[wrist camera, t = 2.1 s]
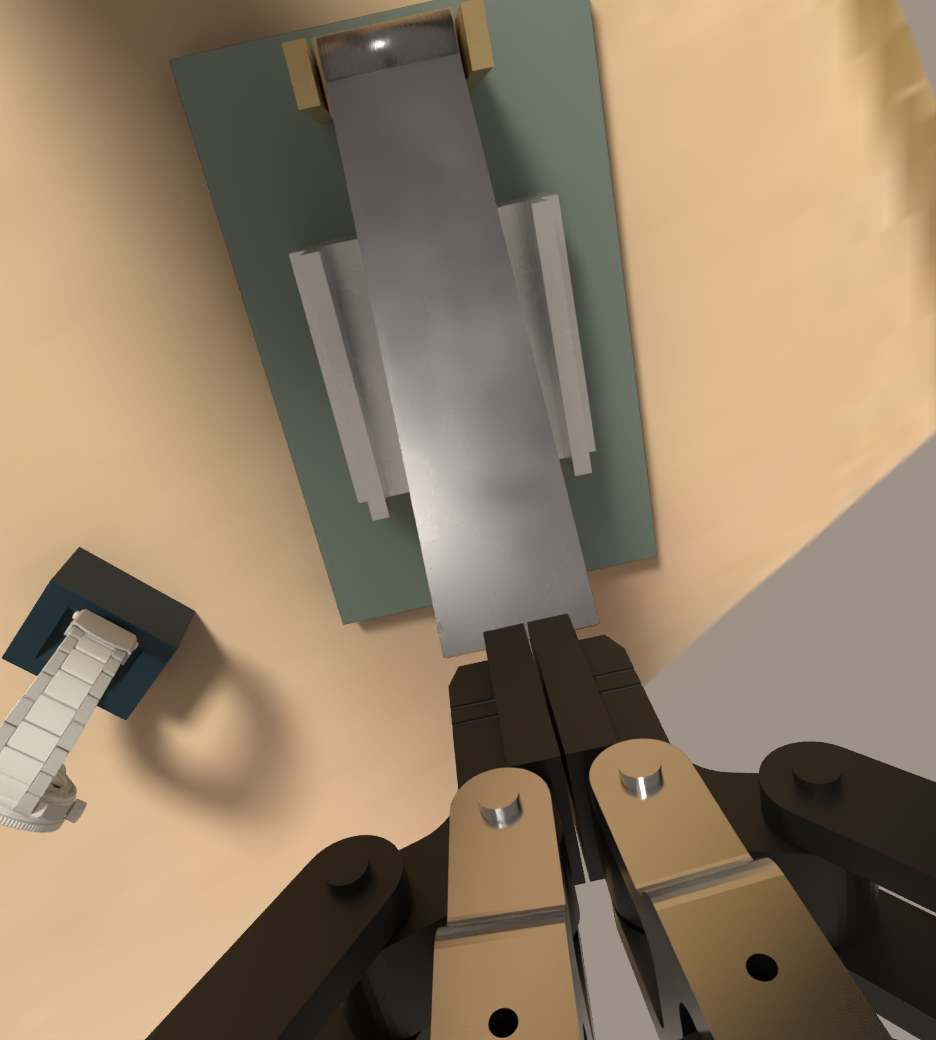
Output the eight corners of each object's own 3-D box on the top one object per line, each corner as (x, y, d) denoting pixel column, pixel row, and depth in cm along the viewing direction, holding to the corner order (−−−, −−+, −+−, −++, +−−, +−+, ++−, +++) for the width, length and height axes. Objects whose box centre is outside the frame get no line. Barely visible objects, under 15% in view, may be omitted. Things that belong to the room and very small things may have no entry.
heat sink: (299, 246, 29) (280, 260, 25) (543, 192, 29) (570, 195, 25) (361, 475, 33) (355, 524, 28) (579, 427, 33) (608, 468, 28)
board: (180, 65, 28) (169, 59, 27) (575, -24, 28) (585, -34, 27) (345, 607, 37) (343, 624, 35) (647, 541, 37) (657, 556, 35)
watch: (13, 651, 36) (-136, 834, 26) (99, 515, 34) (-27, 657, 24) (128, 709, 38) (30, 902, 28) (217, 583, 36) (146, 742, 26)
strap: (325, 68, 23) (312, 22, 21) (450, 40, 23) (446, -7, 21) (447, 659, 20) (442, 657, 18) (594, 627, 19) (601, 621, 18)
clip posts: (304, 65, 27) (275, 29, 21) (463, 29, 27) (484, -17, 21) (428, 557, 34) (435, 646, 28) (552, 530, 34) (588, 612, 28)
